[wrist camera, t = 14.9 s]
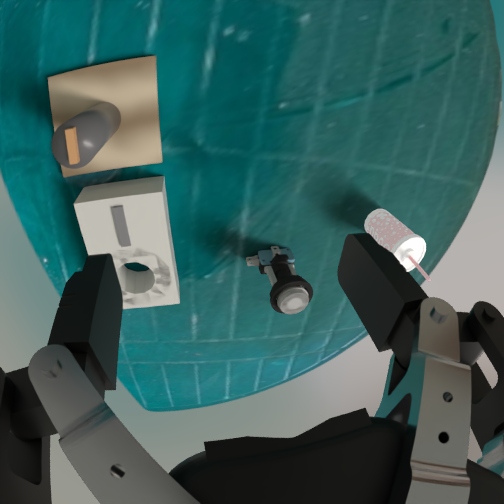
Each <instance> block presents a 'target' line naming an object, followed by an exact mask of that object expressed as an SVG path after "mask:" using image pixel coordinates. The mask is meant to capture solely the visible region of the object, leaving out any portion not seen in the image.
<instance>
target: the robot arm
mask: <svg viewBox="0 0 504 504" xmlns="http://www.w3.org/2000/svg"><path fill="white" fill-rule="evenodd" d="M338 280H339V283H340V285H341V287H342V289H343V290H344V292H345V294H346V295H347V297H348V299H349V300H350V302H351V304H352V306H353V307H354V309H355V311H356V312H357V314H358V316H359V318H360V319H361V321H362V323H363V324H364V326H365V328H366V330H367V331H368V333H369V335H370V337H371V338H372V340H373V342H374V344H375V346H376V347H377V349H378V351H379V352H382V351H385V350H388V349H392V351H393V352H394V353H393V355H392V357H391V359H390V364H389V369H388V375H387V380H386V384H385V389H384V393H383V398H382V401H381V404H380V407H379V408H378V410H377V412H376V414H375V416H374V417H369V415H368V413H367V411H366V408H363V409H360V410H357V411H353V412H351V413H347V414H343V415H340V416H337V417H333V418H330V419H328V420H326V421H325V422H323V423H321V424H319V425H318V426H315V427H314V428H312V429H310V430H308V431H306V432H304V433H302V434H300V435H298V436H296V437H293V438H268V437H267V438H266V437H249V436H246V437H240V438H233V439H225V440H218V441H208V442H204V445H205V451H203V452H200V453H198V454H196V455H193V456H192V457H189V458H187V459H186V460H184V461H183V462H181V463H180V464H178V465H177V466H176V467H175V468H173V469H172V470H171V471H170V472H169V473H167V472H166V471H165V470H164V469H163V468H162V467H161V466H160V465H159V464H158V463H157V462H156V461H155V460H154V459H153V458H152V457H151V456H150V455H149V453H147V451H146V450H145V449H144V448H143V447H142V446H141V445H140V444H139V442H138V441H137V440H136V439H135V438H134V437H133V436H132V434H131V433H130V432H129V431H128V430H127V428H126V427H125V426H124V425H123V424H122V422H121V421H120V420H119V419H118V418H117V417H116V415H115V414H114V413H113V411H112V410H111V409H110V408H109V406H108V405H107V404H106V403H105V401H104V394H105V390H116V376H117V361H118V348H119V337H120V328H121V319H122V310H123V296H122V290H121V286H120V283H119V279H118V276H117V272H116V269H115V265H114V261H113V258H112V255H111V254H110V253H106V254H95V255H88V257H87V259H86V262H85V265H84V268H83V271H79V272H75V273H74V274H73V275H72V276H71V278H70V279H69V280H68V281H67V282H66V285H65V288H64V291H63V294H62V297H61V300H60V303H59V308H58V310H57V313H56V316H55V319H54V323H53V326H52V330H51V334H50V338H49V341H48V345H47V346H45V347H43V348H41V349H40V350H38V351H37V352H36V353H35V354H34V356H33V357H32V359H31V360H30V363H29V366H28V367H25V368H22V369H18V370H15V371H12V372H9V373H5V372H4V371H3V370H2V368H1V367H0V504H52V502H51V485H50V435H53V434H56V433H59V435H60V439H59V444H60V446H61V448H62V450H63V452H64V453H65V455H66V456H67V458H68V460H69V461H70V462H71V464H72V465H73V467H74V468H75V470H76V471H77V473H78V474H79V476H80V477H81V478H82V480H83V481H84V483H85V484H86V485H87V487H88V488H89V489H90V491H91V492H92V493H93V495H94V496H95V497H96V498H97V500H98V501H99V502H100V504H504V317H503V316H502V315H501V313H500V312H499V311H498V310H497V309H496V308H495V307H494V306H493V305H491V304H489V303H487V302H484V301H479V302H477V303H475V305H474V306H473V308H472V310H471V311H470V313H467V312H456V311H455V310H454V309H453V307H452V306H451V305H450V304H448V303H447V302H446V301H444V300H442V299H440V298H435V297H430V298H429V297H428V296H427V295H426V293H425V292H424V291H423V290H422V288H421V287H420V286H419V284H418V283H417V282H416V281H415V280H414V278H413V277H412V276H411V275H410V273H409V272H407V271H406V268H405V267H404V266H403V265H402V264H400V261H399V260H398V259H397V258H396V257H395V255H394V254H393V253H392V252H390V251H389V250H387V249H386V248H384V247H383V246H381V245H379V244H378V243H377V241H376V240H375V239H374V238H373V237H372V236H371V235H370V234H369V233H357V234H348V235H347V237H346V239H345V243H344V247H343V251H342V255H341V258H340V262H339V266H338ZM483 352H485V353H486V355H487V357H488V358H489V360H490V361H491V363H492V365H493V366H494V368H495V370H496V371H497V374H498V382H497V384H496V386H495V387H494V388H493V389H492V388H491V386H490V384H489V383H488V381H487V379H486V377H485V376H484V374H483V372H482V370H481V369H480V367H479V366H478V364H477V362H476V361H477V360H478V359H479V357H480V356H481V355H482V354H483ZM470 426H471V429H472V431H473V433H474V435H475V437H476V440H477V442H478V444H479V446H480V449H481V451H482V457H480V458H479V459H478V461H477V463H475V462H473V461H471V460H469V459H467V455H468V446H469V434H470Z"/></svg>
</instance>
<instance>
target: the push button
mask: <svg viewBox="0 0 504 504" xmlns="http://www.w3.org/2000/svg"><path fill="white" fill-rule="evenodd" d="M273 248H277V249H273ZM249 258H251V260H248V259H249ZM294 260H295V258H294V256H293V254H292V252H291V250H290V249H289V248H285V249H279V247H278V246H272V247H271V250H261V251H258V255H255V256H254V257H246V262H247V266H253V265H255V266H259V270H260V273H261V274H268V277H269V280H270V282H271V285H272V290H271V292H270V297H271V298H270V303H271V306H272V308H273V309H274V310H275V311H277V312H280V313H286V314H295V313H298V312H300V311H302V310H303V309H304V308H305V307H306V306H307V305H308V303H309V302H310V300H311V298H312V296H313V289H312V287H311V285H310V284H309V283H308V282H307V281H306V280H304V279H303V278H302V277H300V276H299V275H297V274H296V272H295V270H294ZM250 262H252V264H250ZM303 286H304V287H303ZM276 298H277V300H276Z"/></svg>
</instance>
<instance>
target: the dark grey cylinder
mask: <svg viewBox="0 0 504 504" xmlns="http://www.w3.org/2000/svg"><path fill="white" fill-rule="evenodd" d="M120 123H121V114H120V111H119V110H118V108H117V107H116V106H115V105H114V104H112V103H109V102H100V103H97V104H96V105H94V106H92V107H90V108H88V109H86V110H85V111H83V112H81V113H79V114H78V115H76V116H74V117H73V118H71V119H69V120H68V121H66V122H64V123H63V124H61V125H60V126H59V127H58V128H57V129H56V131H55V133H54V135H53V138H52V152H53V155H54V157H55V158H56V160H57V161H58V162H59V163H60V164H61V165H63V166H64V167H67V168H71V169H78V168H81V167H84V166H86V165H87V164H88V163H89V162H90V161H91V160H92V159H93V158H94V157H95V155H96V154H97V153H98V152H99V151H100V149H101V148H102V147H103V146H104V145H105V144H106V142H107V141H108V140H109V139H110V138H111V137H112V136H113V134H114V133H115V132H116V131H117V130H118V128H119V126H120Z"/></svg>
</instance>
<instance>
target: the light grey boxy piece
mask: <svg viewBox="0 0 504 504" xmlns="http://www.w3.org/2000/svg"><path fill="white" fill-rule="evenodd" d="M74 207H75V211H76V215H77V218H78V222H79V225H80V229H81V232H82V236H83V239H84V242H85V245H86V249H87V252H88V255H95V254H106V253H110V254H111V255H112V258H113V261H114V265H115V269H116V272H117V276H118V279H119V283H120V286H121V290H122V296H123V309H128V308H139V307H150V306H160V305H170V304H180V298H179V280H178V274H177V268H176V262H175V255H174V249H173V242H172V235H171V228H170V221H169V213H168V205H167V197H166V188H165V179H164V176H158V177H149V178H141V179H134V180H126V181H119V182H112V183H105V184H99V185H92V186H86V187H84V188H83V189H82V191H81V193H80V194H79V196H78V198H77V199H76V201H75V203H74ZM131 262H138V263H141V264H144V265H147V266H148V267H149V268H150V269H148V270H147V271H140V272H136V271H133V270H130V269H128V268H127V267H125V266H124V265H123V264H125V263H131Z"/></svg>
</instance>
